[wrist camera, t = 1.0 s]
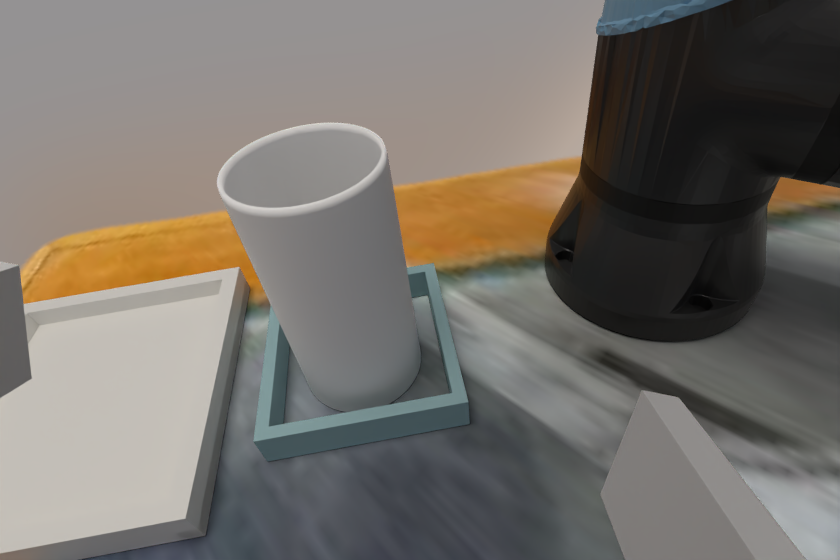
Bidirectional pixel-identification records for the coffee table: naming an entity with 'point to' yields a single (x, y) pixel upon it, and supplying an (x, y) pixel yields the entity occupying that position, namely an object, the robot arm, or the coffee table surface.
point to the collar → (363, 423)
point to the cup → (329, 257)
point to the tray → (119, 417)
